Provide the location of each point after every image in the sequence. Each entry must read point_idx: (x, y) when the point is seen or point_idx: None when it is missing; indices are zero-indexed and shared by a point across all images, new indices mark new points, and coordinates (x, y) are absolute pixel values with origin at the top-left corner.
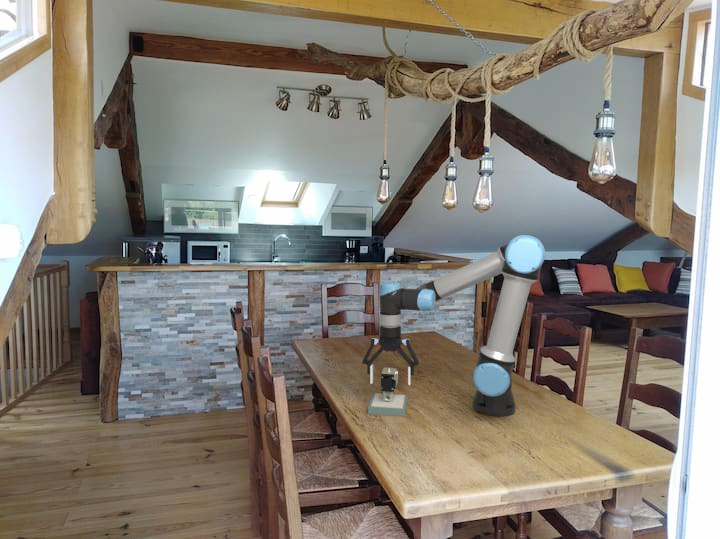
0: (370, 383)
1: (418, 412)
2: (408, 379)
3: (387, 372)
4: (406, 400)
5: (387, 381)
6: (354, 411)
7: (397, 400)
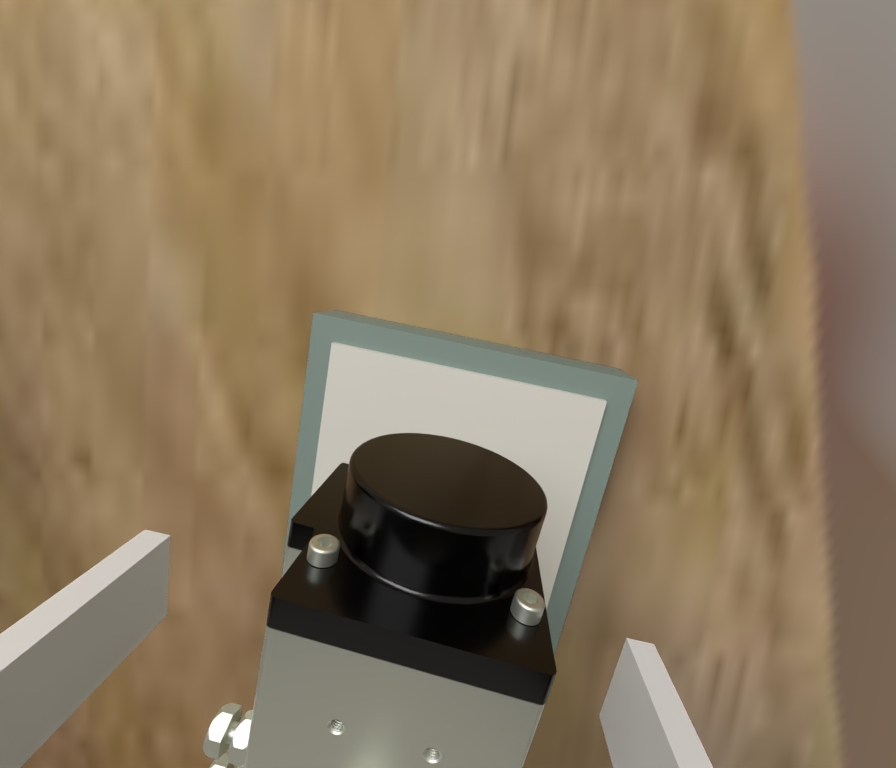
0: (653, 647)
1: (235, 390)
2: (104, 585)
3: (399, 751)
4: (290, 514)
5: (435, 491)
6: (723, 428)
7: None
